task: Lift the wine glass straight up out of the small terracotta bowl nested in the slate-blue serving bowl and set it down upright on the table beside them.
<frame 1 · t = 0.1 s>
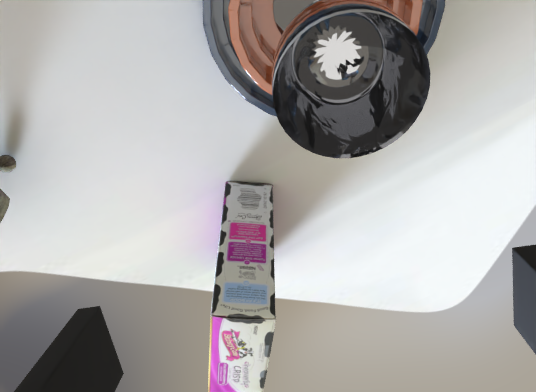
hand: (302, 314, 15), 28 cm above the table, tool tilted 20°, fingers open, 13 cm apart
candy bar box: (244, 222, 49), on the table
wine glass: (319, 6, 35), resting in small bowl
serving bowl: (318, 4, 36), on the table
small bowl: (321, 12, 34), in the serving bowl
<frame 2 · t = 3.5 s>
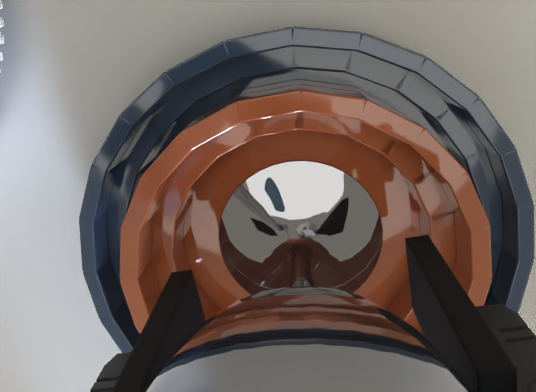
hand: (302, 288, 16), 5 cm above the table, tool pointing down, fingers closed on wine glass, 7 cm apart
wine glass: (299, 237, 20), resting in small bowl, touching gripper
serving bowl: (299, 234, 21), on the table
small bowl: (300, 254, 19), in the serving bowl
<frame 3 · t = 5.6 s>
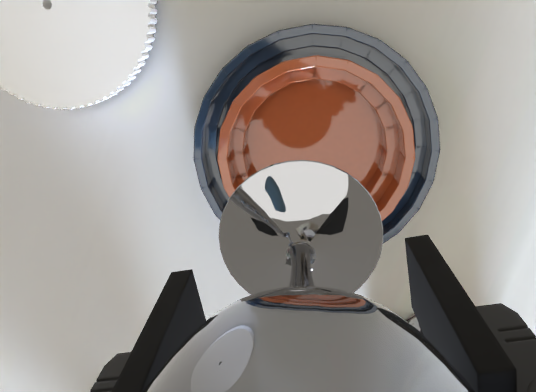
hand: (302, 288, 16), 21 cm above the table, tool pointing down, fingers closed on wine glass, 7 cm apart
wine glass: (300, 237, 20), point 16 cm above the table, touching gripper
serving bowl: (313, 145, 36), on the table
small bowl: (314, 151, 34), in the serving bowl
plastic lid: (66, 6, 34), on the table
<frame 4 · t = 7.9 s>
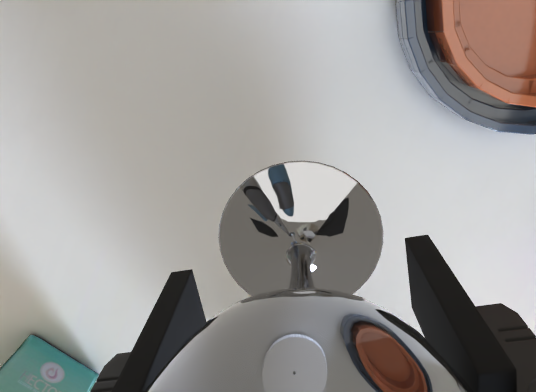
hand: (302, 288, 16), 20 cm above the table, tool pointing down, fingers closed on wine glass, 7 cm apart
wine glass: (300, 238, 20), point 15 cm above the table, touching gripper
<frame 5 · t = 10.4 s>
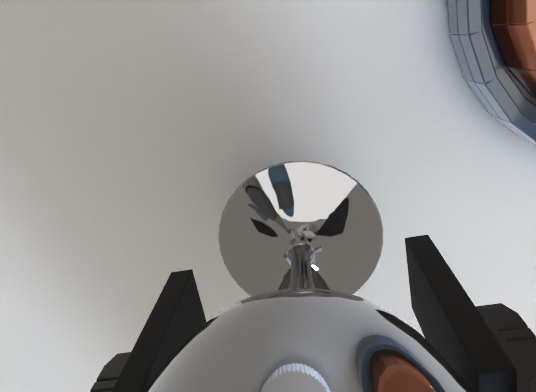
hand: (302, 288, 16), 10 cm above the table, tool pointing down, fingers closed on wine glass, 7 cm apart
wine glass: (300, 238, 20), point 6 cm above the table, touching gripper
when the fingers open (4 cm above the table, at t = 12.4 s): wine glass stays where it is, on the table.
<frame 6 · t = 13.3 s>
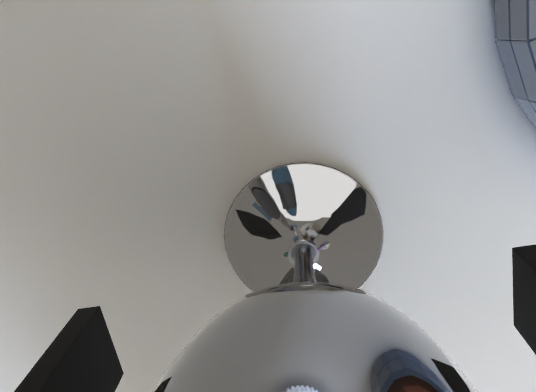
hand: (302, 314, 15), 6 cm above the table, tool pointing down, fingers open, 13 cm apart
wine glass: (302, 237, 21), on the table
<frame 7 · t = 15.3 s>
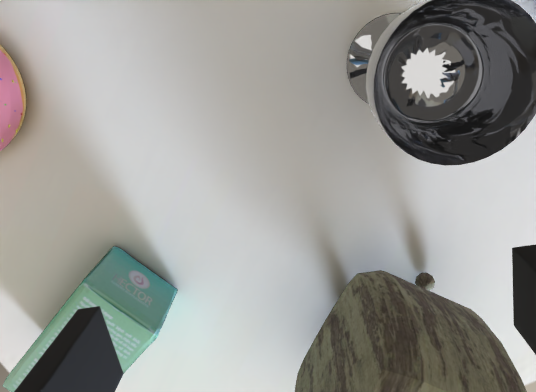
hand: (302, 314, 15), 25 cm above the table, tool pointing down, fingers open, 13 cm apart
wine glass: (393, 62, 36), on the table
box: (111, 309, 45), on the table
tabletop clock: (365, 309, 43), on the table
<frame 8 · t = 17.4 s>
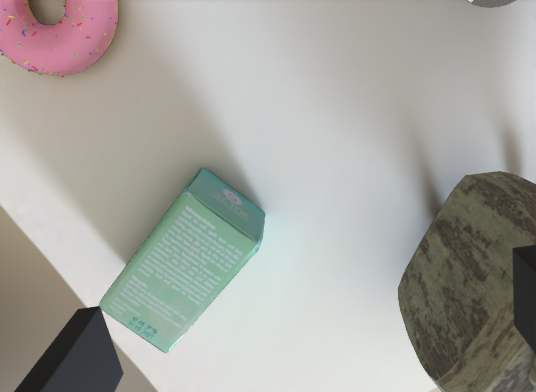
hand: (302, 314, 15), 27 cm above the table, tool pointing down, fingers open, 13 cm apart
doughnut: (60, 4, 38), on the table
box: (195, 237, 44), on the table
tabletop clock: (458, 228, 42), on the table
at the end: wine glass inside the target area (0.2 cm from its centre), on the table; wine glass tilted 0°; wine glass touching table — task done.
